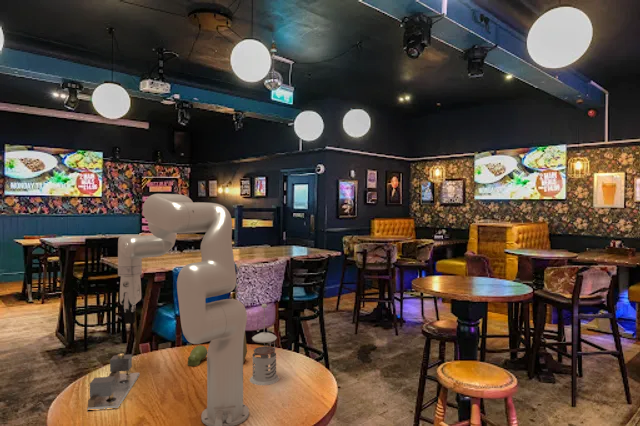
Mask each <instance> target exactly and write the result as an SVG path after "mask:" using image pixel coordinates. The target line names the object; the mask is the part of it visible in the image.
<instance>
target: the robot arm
mask: <svg viewBox="0 0 640 426" xmlns="http://www.w3.org/2000/svg"><path fill="white" fill-rule="evenodd" d="M142 214H143V217H144V218H145V220H146V221H147V228H148V229H149V231H150V233H151V234H148V235H138V234H126V235H125V234H124V235H121V236H119V237H118V241H117V276H118V277H120V282H119V283H120V284H119V303H120V306H123V310H124V311H123V312H124V315H123V317H124V324H125V325H127V324H128V325H130V324H135V323H136V304H137V303H138V302H141V300H142V281H141V276H142V274H143V273H142V272H143V270H142V269H143V263H142V261H143V259H144V258H145V259H147V258H156V257H162V256H164V255H166V254H168V252H169V251H170V250H171V249H172V248H173V247H174V246H175V243H176V241H177V240H176V238H177V234H186V233H187V234H191V233H192V234H193V233H205V234H204V235H203V237H202V241H201V242H200V254H201V255H200V257H201V261H197V262H191V263H188V264H186V265H184V266H183V267H182V268H181V269H180V271H179V272H178V276H177V279H176V280H177V281H176V289H177V290H176V291H177V299H178V308H179V317H180V325H181V330H182V334H183V336H184V338H185V339H186V341H187V342H188V343H190V344H193V345H199V344H200V345H201V344H203V343H204V344H205V343H208V342H209V344H208V348H207V356H206V388H207V389H206V392H207V393H206V394H207V395H206V398H207V401H206V403H207V404H206V405H207V407H206V408H205V409H204V410H202V412H201V417H200V418H201V422H202V423H203V424H204V425H205V426H238V425H240V424H242V423H243V422H244V421H247V419H248V417H249V416H250V409H249V407H248V406H247V405H246V404H244V363H243V341H244V333H245V334H246V327H247V321H248V320H247V319H248V313H247V309H246V307H245V305H244V304H243V303H242V302H241V301H239V300H238V299H234V298H226V299H220V300H215V301H214V300H213V301H211V302H206V299H208V298H212V297H218V296H222V295H225V294H226V295H227V294H229V293H231V292H233V290H234V289H235V288H236V285H237V274H236V265H235V257H234V250H233V249H234V248H233V240H232V235H233V221H232V216H231V213H230V211H229V210H228V209H227V207H225V206H224V205H222V204H220V203H215V202H199V201H197V202H196V201H195V202H193V200H192V199H191V198H190V197H188V196H187V195H184V194H177V193H175V194H173V193H154V194H151V195H149V196H148V197H147V198H146V199H145V201H144V203H143V206H142Z"/></svg>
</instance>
